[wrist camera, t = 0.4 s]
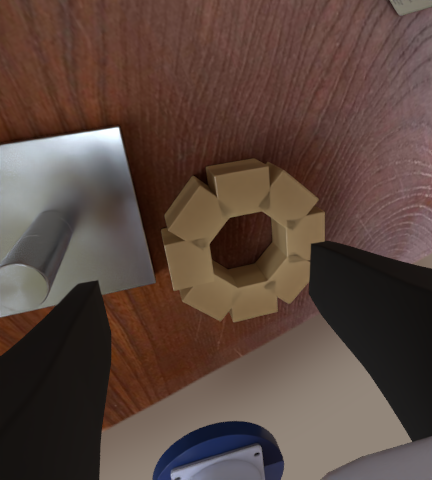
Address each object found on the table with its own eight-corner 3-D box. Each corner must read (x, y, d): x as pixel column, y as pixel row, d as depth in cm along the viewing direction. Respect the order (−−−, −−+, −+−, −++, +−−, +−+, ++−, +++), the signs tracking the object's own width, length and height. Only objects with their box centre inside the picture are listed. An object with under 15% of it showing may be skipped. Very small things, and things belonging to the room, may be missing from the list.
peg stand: (155, 275, 21) (165, 351, 15) (1, 309, 20) (-59, 408, 14) (120, 123, 18) (113, 141, 11) (-73, 153, 16) (-201, 192, 10)
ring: (307, 281, 24) (324, 300, 22) (178, 312, 23) (183, 335, 21) (305, 148, 20) (325, 155, 18) (149, 176, 19) (151, 187, 17)
